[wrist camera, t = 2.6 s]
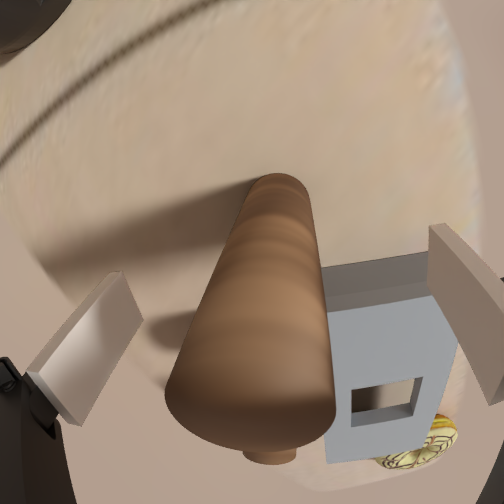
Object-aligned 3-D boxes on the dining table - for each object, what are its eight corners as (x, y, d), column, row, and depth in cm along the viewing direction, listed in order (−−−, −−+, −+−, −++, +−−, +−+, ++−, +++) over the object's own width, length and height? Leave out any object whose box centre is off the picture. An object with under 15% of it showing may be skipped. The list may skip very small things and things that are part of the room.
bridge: (305, 270, 22) (308, 315, 17) (439, 249, 20) (469, 287, 15) (325, 425, 30) (326, 464, 26) (413, 411, 28) (422, 447, 24)
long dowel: (240, 179, 19) (137, 358, 6) (304, 168, 19) (332, 347, 5) (254, 237, 21) (197, 450, 8) (314, 228, 20) (338, 447, 7)
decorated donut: (363, 455, 34) (365, 478, 30) (388, 412, 29) (393, 440, 26) (431, 447, 33) (435, 468, 29) (464, 403, 28) (473, 428, 24)
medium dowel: (250, 366, 27) (236, 443, 20) (295, 362, 26) (292, 442, 19) (259, 393, 28) (249, 464, 21) (300, 390, 28) (298, 463, 21)
